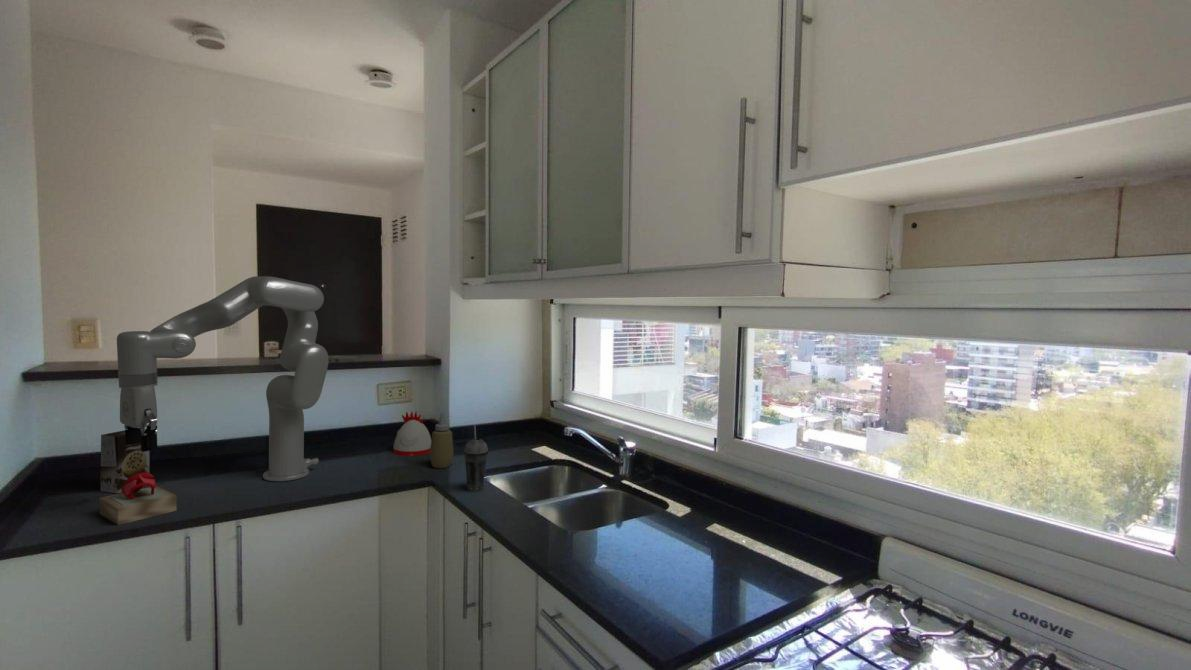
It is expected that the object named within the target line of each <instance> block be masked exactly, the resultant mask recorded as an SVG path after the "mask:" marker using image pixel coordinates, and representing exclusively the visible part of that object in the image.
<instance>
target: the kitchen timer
mask: <svg viewBox="0 0 1191 670" xmlns="http://www.w3.org/2000/svg"><path fill="white" fill-rule="evenodd" d="M413 414H414V415H413ZM421 415H422V414H419V415H418V413H417V411H415V413H413V411H411V412H410V415H409V412H408V411H406V412H405V416H404V415H403V414H401V418H402V419H403V422H404V424H403V425H402V426H401V427H400V428H399V429H398V431H396V435H395V439H394V442H393V446H392V447H393V450H392V451H393V454H395V455H398V456H405V457H413V456H416V457H417V456H423V455H427V454H430V448H431V440H432V436H431V434H430V432H429V429H428V428H427V427H426V425H425V424H424V420H425V418H426V417H423V418H422V420H421ZM427 450H428V451H427Z"/></svg>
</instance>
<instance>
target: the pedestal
mask: <svg viewBox="0 0 1191 670" xmlns="http://www.w3.org/2000/svg"><path fill="white" fill-rule="evenodd" d="M132 495H133V496H134V497H135V498H134V499H128V497H126V496H125V495H124V494H123V493H122V492H121V493H115V494H112V495H108V496H102V497H99V498H98V501H99V505H98V507H99V508H98V509H99V512H98V513H99V514H100V516H102V517H104V518H106V519H107V520H109V521H111V522H112V523H114V524H115V525H117V526H120V525H124V524H128V523H133V522H136V521H139V520H145V519H148V518H151V517H157V516H160V515H164V514H168V513H172V512H177V509H178V508H177V507H178V506H177V505H178V504H177V503H178V502H177V501H178V500H177V497H178V495H177V494H175V493H173V492H171V491H168V490H166V489H164V488H162V487H160V486H158V485H156V487H155V488H154V494H153V495H152V494H151V487H150V486H148V487H145V488H142V489H141V490H139V491H138V492H135V493H133V494H132Z"/></svg>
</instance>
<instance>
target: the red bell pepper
mask: <svg viewBox="0 0 1191 670" xmlns="http://www.w3.org/2000/svg"><path fill="white" fill-rule="evenodd" d="M144 486H146V487H151V494H152V495H153V494H154V488H155V487H156V486H157V482H156V479H155V477H154V475H153V474H151V473H150V472H149V473H138V474H135V475H133V476H131V477H129V478H128V479H127V480H126V482H125V484H124V486H123V487H122V489H121V490H122V492H121V493H123V494H124V495H125V496H126V497H128V499H134V498H135V497H134V496H133V495H132V494H133V493H135V492H138V491H139V490H141V489H144V488H143V487H144Z"/></svg>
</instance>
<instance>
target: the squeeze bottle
mask: <svg viewBox="0 0 1191 670" xmlns="http://www.w3.org/2000/svg"><path fill="white" fill-rule="evenodd" d="M434 426H435V428H434V431H432V433H431V448H430V453H429V457H428V458H429V459H430V463H431V466H432V468H435V469H446V468H449V467H451V464H452V462H453V459H454V455H455V453H454V443H453V442H454V441H453V431H452V430H450V424H448V423H447V420H446V416H445V414H444V413H441V414H440V417H439V421H438V423H437V424H435V425H434Z"/></svg>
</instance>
